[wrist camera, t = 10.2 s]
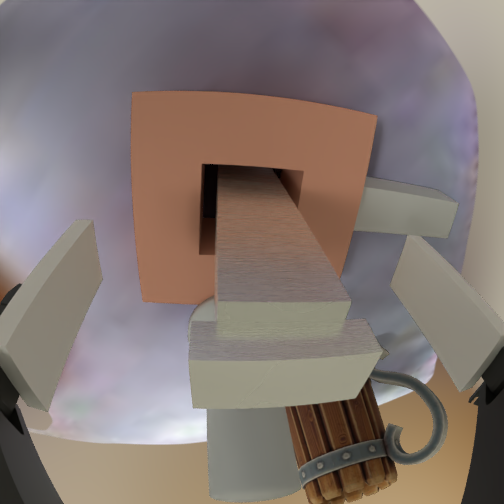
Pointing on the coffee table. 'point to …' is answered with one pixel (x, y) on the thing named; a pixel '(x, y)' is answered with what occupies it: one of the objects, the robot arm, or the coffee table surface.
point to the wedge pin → (274, 308)
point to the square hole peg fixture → (203, 229)
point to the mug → (356, 442)
